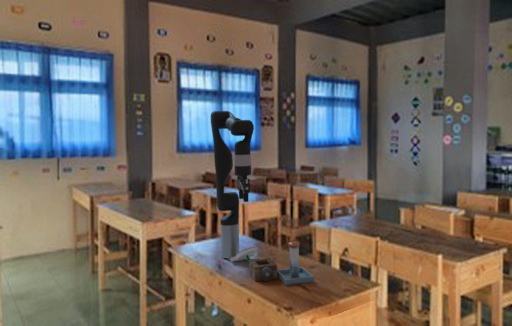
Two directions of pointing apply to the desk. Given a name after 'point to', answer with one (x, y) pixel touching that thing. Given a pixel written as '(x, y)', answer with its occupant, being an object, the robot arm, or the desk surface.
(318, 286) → the desk surface
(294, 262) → the pin
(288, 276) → the tray
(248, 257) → the tabbed white plastic disc
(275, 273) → the block
